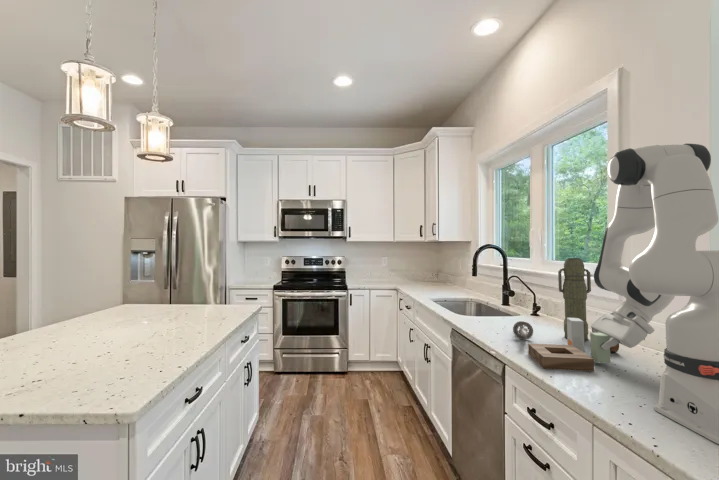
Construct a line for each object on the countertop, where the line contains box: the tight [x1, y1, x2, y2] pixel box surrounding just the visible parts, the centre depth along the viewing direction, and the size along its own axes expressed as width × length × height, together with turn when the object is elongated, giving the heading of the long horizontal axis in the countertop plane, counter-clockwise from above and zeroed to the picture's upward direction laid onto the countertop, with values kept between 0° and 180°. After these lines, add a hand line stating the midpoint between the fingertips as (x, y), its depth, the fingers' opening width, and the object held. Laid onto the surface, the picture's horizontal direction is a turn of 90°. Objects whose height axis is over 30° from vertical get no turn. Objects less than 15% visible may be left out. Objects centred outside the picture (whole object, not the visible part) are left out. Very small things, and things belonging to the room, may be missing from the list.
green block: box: [589, 331, 612, 364], centre depth 110 cm, size 4×4×9 cm
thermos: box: [557, 257, 592, 342], centre depth 142 cm, size 9×12×35 cm
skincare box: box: [566, 318, 586, 354], centre depth 126 cm, size 6×4×12 cm
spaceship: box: [512, 320, 534, 341], centre depth 141 cm, size 8×35×8 cm
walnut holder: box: [527, 343, 595, 372], centre depth 113 cm, size 15×15×4 cm
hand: (598, 346), depth 111 cm, fingers closed on green block, 4 cm apart
